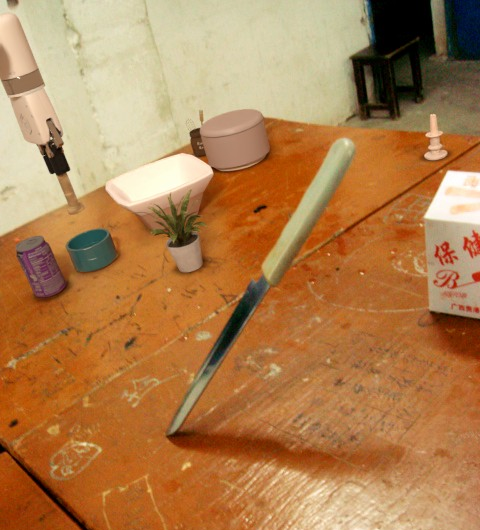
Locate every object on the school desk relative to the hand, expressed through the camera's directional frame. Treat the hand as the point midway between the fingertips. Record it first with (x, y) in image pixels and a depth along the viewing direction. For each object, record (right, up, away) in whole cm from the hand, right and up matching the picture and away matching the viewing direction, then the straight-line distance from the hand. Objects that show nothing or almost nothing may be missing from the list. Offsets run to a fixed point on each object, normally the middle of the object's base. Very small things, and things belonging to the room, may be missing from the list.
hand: (60, 171), depth 134 cm
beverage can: (-3, -25, +5) cm, 26 cm away
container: (+38, +14, +47) cm, 62 cm away
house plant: (+26, -21, -1) cm, 33 cm away
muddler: (+2, -7, +5) cm, 9 cm away
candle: (+84, +7, +17) cm, 86 cm away
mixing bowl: (+5, -18, +12) cm, 22 cm away
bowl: (+20, -6, +24) cm, 32 cm away
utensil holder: (+27, +20, +60) cm, 68 cm away
